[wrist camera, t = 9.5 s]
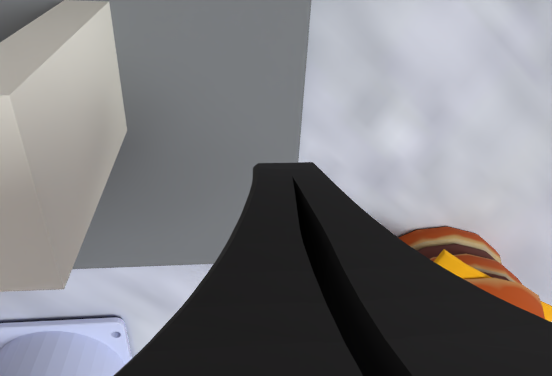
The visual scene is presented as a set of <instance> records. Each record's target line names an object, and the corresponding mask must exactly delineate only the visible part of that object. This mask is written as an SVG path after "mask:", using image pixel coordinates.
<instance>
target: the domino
mask: <svg viewBox="0 0 552 376" xmlns="http://www.w3.org/2000/svg"><path fill="white" fill-rule="evenodd" d="M126 132H127V126H126V118H125V111H124V104H123V97H122V90H121V83H120V76H119V68H118V61H117V54H116V47H115V40H114V33H113V26H112V18H111V11H110V4H109V1H81V0H64V1H62V2H61V3H59V4H58V5H56V6H55V7H53V8H52V9H50V10H49V11H47V12H46V13H44V14H43V15H41V16H40V17H38V18H37V19H35V20H34V21H32V22H31V23H29V24H28V25H26V26H24V27H23V28H21V29H20V30H18V31H17V32H15V33H14V34H12V35H11V36H9V37H8V38H6V39H5V40H3V41H2V42H0V292H5V291H31V290H57V289H64V288H65V286H66V283H67V281H68V278H69V276H70V273H71V270H72V268H73V265H74V263H75V260H76V258H77V255H78V253H79V250H80V248H81V245H82V243H83V240H84V238H85V235H86V233H87V230H88V228H89V225H90V223H91V220H92V218H93V215H94V213H95V210H96V208H97V205H98V203H99V200H100V198H101V195H102V192H103V190H104V187H105V185H106V182H107V180H108V177H109V175H110V172H111V170H112V167H113V165H114V162H115V160H116V157H117V155H118V152H119V150H120V147H121V145H122V142H123V140H124V137H125V135H126Z"/></svg>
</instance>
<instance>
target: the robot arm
mask: <svg viewBox="0 0 552 376" xmlns="http://www.w3.org/2000/svg"><path fill="white" fill-rule="evenodd" d="M0 376H552V322H550V321H548V320H546V319H543V318H541V317H539V316H537V315H535V314H532V313H530V312H528V311H526V310H524V309H521V308H519V307H517V306H515V305H513V304H511V303H509V302H506V301H504V300H502V299H500V298H498V297H496V296H494V295H492V294H490V293H488V292H486V291H484V290H483V289H481V288H479V287H477V286H475V285H473V284H472V283H470V282H468V281H466V280H464V279H462V278H461V277H459V276H457V275H455V274H453V273H452V272H450V271H448V270H447V269H445V268H443V267H441V266H440V265H438V264H437V263H435V262H433V261H432V260H430V259H429V258H427V257H426V256H424V255H423V254H421V253H420V252H418V251H417V250H415V249H414V248H412V247H410V246H409V245H408V244H406V243H405V242H403V241H402V240H400V239H399V238H398V237H396V236H395V235H394V234H392V233H391V232H390V231H389V230H387V229H386V228H385V227H383V226H382V225H381V224H380V223H378V222H377V221H376V220H374V219H373V218H372V217H371V216H370V215H369V214H367V213H366V212H365V211H364V210H363V209H361V208H360V207H359V206H358V205H357V204H356V203H355V202H354V201H352V200H351V199H350V198H349V197H348V196H347V195H346V194H345V193H344V192H343V191H342V190H341V189H340V188H339V187H337V186H336V185H335V184H334V183H333V182H332V181H331V180H330V179H329V178H328V177H327V176H326V175H325V174H324V173H323V172H322V171H321V170H320V169H319V168H318V167H317V166H316V165H315V164H314V163H313V162H305V163H258V164H256V165H255V166H254V167H253V180H252V185H251V188H250V192H249V195H248V198H247V200H246V203H245V206H244V208H243V211H242V213H241V216H240V218H239V220H238V222H237V224H236V226H235V228H234V230H233V232H232V234H231V236H230V238H229V240H228V242H227V243H226V245H225V247H224V249H223V250H222V252H221V254H220V255H219V257H218V258H217V260H216V261H215V263H214V264H213V266H212V267H211V269H210V270H209V272H208V273H207V275H206V276H205V277H204V279H203V280H202V281H201V283H200V284H199V285H198V287H197V288H196V289H195V291H194V292H193V293H192V295H191V296H190V297H189V298H188V300H187V301H186V302H185V303H184V305H183V306H182V307H181V308H180V309H179V310H178V311H177V313H176V314H175V315H174V316H173V317H172V318H171V319H170V320H169V321H168V322H167V323H166V324H165V326H164V327H163V328H162V329H161V330H160V331H159V332H158V333H157V334H156V335H155V336H154V337H153V339H152V340H151V341H150V342H149V343H148V344H147V345H146V346H145V347H144V348H143V349H142V350H141V351H140V352H139V353H138V354H137V355H135V356H134V357H133V358H132V355H131V350H130V345H129V340H128V335H127V330H126V325H125V322H124V321H123V320H122V319H120V318H115V317H114V318H94V319H74V320H55V321H35V322H15V323H0Z"/></svg>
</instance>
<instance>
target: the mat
mask: <svg viewBox="0 0 552 376" xmlns="http://www.w3.org/2000/svg"><path fill="white" fill-rule="evenodd" d="M62 1H64V0H0V42H2V41H3V40H5V39H6V38H8V37H9V36H11V35H12V34H14V33H15V32H17V31H18V30H20V29H21V28H23V27H24V26H26V25H28V24H29V23H31V22H32V21H34V20H35V19H37V18H38V17H40V16H41V15H43V14H44V13H46V12H47V11H49V10H50V9H52V8H53V7H55V6H56V5H58V4H59V3H61V2H62ZM81 1H109V4H110V11H111V18H112V26H113V33H114V40H115V47H116V54H117V61H118V68H119V76H120V83H121V90H122V97H123V104H124V111H125V118H126V126H127V132H126V135H125V137H124V140H123V142H122V145H121V147H120V150H119V152H118V155H117V157H116V160H115V162H114V165H113V167H112V170H111V172H110V175H109V177H108V180H107V182H106V185H105V187H104V190H103V192H102V195H101V198H100V200H99V203H98V205H97V208H96V210H95V213H94V215H93V218H92V220H91V223H90V225H89V228H88V230H87V233H86V235H85V238H84V240H83V243H82V245H81V248H80V250H79V253H78V255H77V258H76V260H75V263H74V265H73V268H72V269H87V268H114V267H140V266H166V265H192V264H214V263H215V261H216V260H217V258H218V257H219V255H220V254H221V252H222V250H223V249H224V247H225V245H226V243H227V242H228V240H229V238H230V236H231V234H232V232H233V230H234V228H235V226H236V224H237V222H238V220H239V218H240V216H241V213H242V211H243V208H244V206H245V203H246V200H247V198H248V195H249V192H250V188H251V185H252V180H253V167H254V166H255V165H256V164H258V163H298V158H299V145H300V133H301V121H302V108H303V96H304V84H305V71H306V59H307V47H308V34H309V22H310V10H311V0H81Z"/></svg>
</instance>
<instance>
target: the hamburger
mask: <svg viewBox="0 0 552 376" xmlns="http://www.w3.org/2000/svg"><path fill="white" fill-rule="evenodd" d="M398 238H399V239H400V240H402V241H403V242H405V243H406V244H408V245H409V246H410V247H412V248H414V249H415V250H417V251H418V252H420V253H421V254H423V255H424V256H426V257H427V258H429V259H430V260H432V261H433V262H435V263H437V264H438V265H440V266H441V267H443V268H445V269H447V270H448V271H450V272H452V273H453V274H455V275H457V276H459V277H461V278H462V279H464V280H466V281H468V282H470V283H472V284H473V285H475V286H477V287H479V288H481V289H483V290H484V291H486V292H488V293H490V294H492V295H494V296H496V297H498V298H500V299H502V300H504V301H506V302H509V303H511V304H513V305H515V306H517V307H519V308H521V309H524V310H526V311H528V312H530V313H532V314H535V315H537V316H539V317H541V318H543V319H546V320H548V321H550V322H551V321H552V306H551V305H549V304H546V303H544V302H542V301H540V299H539V296H538V295H537V294H535V293H534V292H532V291H531V290H529V289H528V288H526V287H525V286H524V285H522V283H521V282H520V281H519V280H518V278H517V277H515V276H514V275H513V274H512V273H511V272H510V271H509V270H507V269H506V268H505V267H504V266H503V265H502V263H501V259H500V255H499V254H498V253H497V252H496V250H495V249H494V248H492V247H491V246H490V245H489V244H488V243H487V242H486V241H484V240H483V239H482V238H481V237H480V236H479V235H477V234H475V233H472V232H468V231H464V230H460V229H456V228H452V227H448V226H447V227H438V228H428V229H419V230H415V231H413V232H410V233H408V234H406V235H403V236H401V237H398Z"/></svg>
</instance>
